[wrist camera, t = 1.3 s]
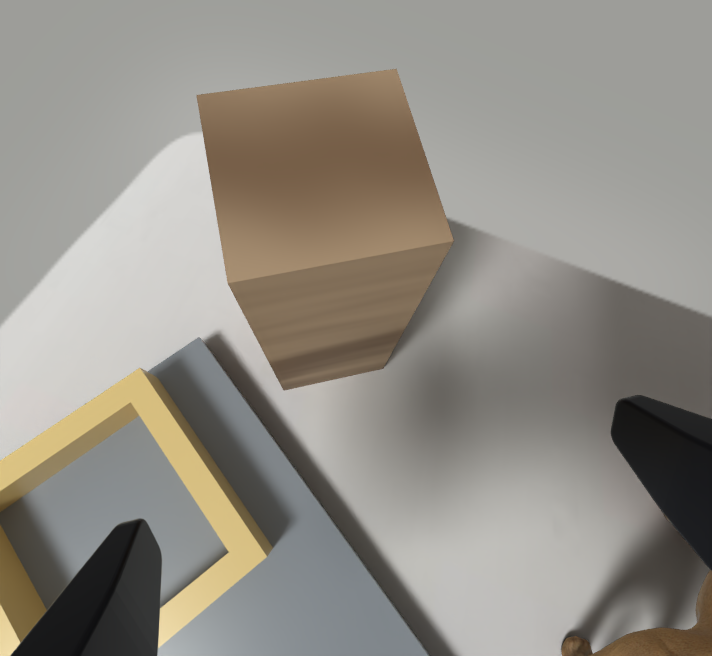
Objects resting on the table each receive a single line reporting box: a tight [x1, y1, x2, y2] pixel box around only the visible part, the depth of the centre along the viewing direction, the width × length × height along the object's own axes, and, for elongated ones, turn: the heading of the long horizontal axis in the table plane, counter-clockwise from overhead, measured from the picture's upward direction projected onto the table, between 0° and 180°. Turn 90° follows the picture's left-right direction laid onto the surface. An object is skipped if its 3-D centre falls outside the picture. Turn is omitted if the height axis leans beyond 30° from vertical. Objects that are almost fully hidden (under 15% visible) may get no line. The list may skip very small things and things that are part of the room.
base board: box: [0, 337, 430, 656], centre depth 17 cm, size 22×12×3 cm, turn 39°
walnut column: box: [197, 69, 454, 390], centre depth 17 cm, size 5×5×13 cm
